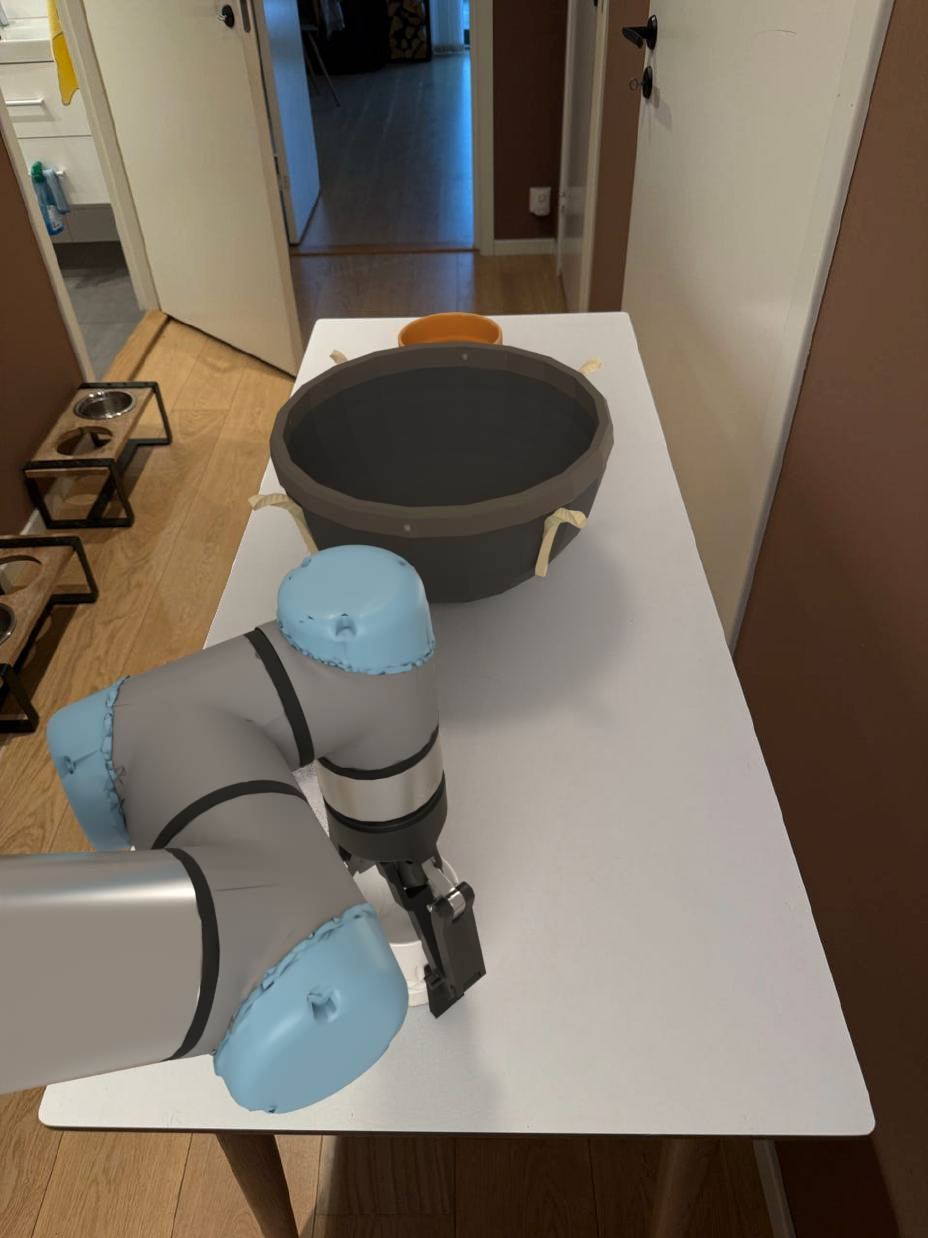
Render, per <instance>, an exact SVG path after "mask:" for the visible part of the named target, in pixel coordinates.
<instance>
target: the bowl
mask: <svg viewBox="0 0 928 1238" xmlns="http://www.w3.org/2000/svg"><path fill="white" fill-rule="evenodd" d="M329 358H330V359H332V360H333V362H334V363H335V365H333V366H331V367H330V368H328V369H326V370H324V371H323V372H321V373H320V374H318V375H316V376H315V377H313V378H312V379H310V380H308V381H306V382H305V383H303V384H301V385H300V386H299V387H298V389H297V390H296V391H295V392H294V393H293V394H292V395H291V397H289V398H288V400H286V401H285V403H284V404H283V405H282V406H281V407H280V408H279V410H277V413H276V415H275V419H274V423H273V425H272V429H271V433H270V437H269V441H268V442H269V455H270V460H271V463H272V466H273V469H274V472H275V475H276V478H277V481H278V484H279V486H280V487H281V488H283V489H284V492H285V493H281V492H273V493H270V494H254V495H252V496H249V498H248V499H247V503H248V505H249V507H251V509H252V510H253V511H254V512H256V511H258V510H261V509H262V508H264V507H267V506H270V507H275V508H276V507H277V508H280V509H284V510H286V511H288V512H289V514H290V516H291V517H292V519H293V521H294V523H295V525H296V526H297V529H298V531H299V533H300V535H301V537H302V539H303V542H304V543H305V546H306V548H307V550H308V552H309V555H312V554H314V553H316V552H319V551H322V550H325V549H328V548H332V547H337V546H343V545H368V546H374V547H378V548H382V549H385V550H388V551H391V552H393V553H395V554H396V555H398V556H400V557H402V558H403V559H404V560H406V561H407V562H408V563H409V564H410V565H411V566H413V567H414V568H415V570H416V572H417V573H418V575H419V576H420V578H421V580H422V583H423V586H424V590H425V595H426V599H427V602H428V605H430V604H432V605H433V604H435V605H436V604H460V603H461V604H462V603H469V602H473V601H477V600H481V599H485V598H490V597H494V596H497V595H501V594H503V593H505V592H508V591H510V590H511V589H513V588H515V587H516V586H519V585H521V584H522V583H524V582H526V581H528V580H531V579H532V578H534V577H535V576H539V577H543V578H545V576H546V574H547V572H548V566H549V565H550V564H551V563H552V562H553V561H554V560H555V559H556V558H557V557H558V556H559V555H560V554H561V553H562V552H563V551H564V550H565V549H566V548H567V547H568V546H569V545H570V544H571V542H572V541H573V540H574V539H575V538H576V537H577V536H578V535H579V533H580V532H581V530H582V528H584V526H586V525H587V524H588V522H589V520H588V518H589V516H590V513H591V511H592V508H593V505H594V502H595V500H596V498H597V494H598V492H599V489H600V487H601V483H602V482H603V478H604V475H605V473H606V469H607V465H608V461H609V459H610V455H611V454H612V451H613V448H614V445H615V434H614V424H613V420H612V416H611V413H610V408H609V404H608V400H607V398H606V397H605V396H604V395H603V394H602V393H601V392H600V391H599V390H598V389H597V387H596V386H595V385H594V384H593V383H592V381H590V380H589V379H588V378H587V377H586V376H587V375H589V374H591V373H592V372H594V371H598V370H599V369H600V368H601V367H602V366H603V363H602V361H601V359H600V357H592V358H591V359H589V360H587V361H586V362H585V363H584V364H583V365H582V366H581V367H580V368H579V369H578V370H576V369H574V368H573V367H571V366H569V365H568V364H565V363H564V362H561V361H559V360H557V359H555V358H554V357H551V356H550V355H545V354H542V353H538V352H535V351H532V350H528V349H523V348H520V347H516V346H512V345H506V344H503V345H498V344H488V343H478V342H468V341H460V342H437V343H418V344H413V345H407V346H402V347H399V346H396V347H391V348H386V349H381V350H375V351H372V352H369V353H366V354H364V355H360V356H358V357H355V358H352V359H349V360H348V358H347V357H346V356H345V354H344V353H342V352H341V351H340V350H338V349H333V351H332V352H331V354H330V355H329Z"/></svg>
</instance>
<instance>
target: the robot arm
mask: <svg viewBox="0 0 928 1238" xmlns="http://www.w3.org/2000/svg"><path fill="white" fill-rule="evenodd" d="M276 597H277V598H276V602H277V603H276V604H277V608H276V609H275V613H276V618H275V619H273V620H270V621H268V622H264V623H261V624H259V625H257V626H255V627H254V629H253V630H249V631H248V632H245V633H242V634H239V635H237V636H234V637H231V638H229V639H226V640H224V641H221V642H219V643H216V644H214V645H211V646H209V647H206V648H202V649H200V650H198V651H195V652H192V653H190V654H188V655H185V656H183V657H180V658H177V659H174V660H172V661H169V662H167V663H164V664H161V665H159V666H156V667H153V668H151V669H147V670H146V671H144V672H140V673H138V674H135V675H132V676H131V675H125V676H121V677H119V678H118V679H117V680H116V682H114V683H113V684H110V685H109V686H105V687H103V688H102V689H100V690H98V691H95V692H92V693H90V694H88V695H85V696H83V698H81V699H79V700H77V701H76V700H75V701H74V702H72V703H70V704H67V705H65V706H63V707H61V708H60V709H58V710H57V711H55V712H54V713H53V715H52V716H51V717H50V718H49V720H48V723H47V726H46V732H45V736H46V743H47V747H48V750H49V754H50V756H51V757H50V758H51V760H52V763H53V765H54V766H53V767H54V768H55V770H56V772H57V775H58V777H59V779H60V783H61V786H62V789H63V791H64V795H65V796H66V799H67V801H68V803H69V806H70V808H71V810H72V812H73V814H74V816H75V819H76V820H77V823H78V824H79V826H80V829H81V831H82V832H83V835H84V836H85V837H86V839H87V841H88V843H89V844H90V846H91V847H93V849H95V850H96V851H72V852H71V851H69V852H41V853H39V852H38V853H36V852H35V853H11V854H10V853H9V854H8V853H7V854H0V1096H1V1095H6V1094H11V1093H16V1092H22V1091H27V1090H31V1089H36V1088H42V1087H46V1086H51V1085H56V1084H61V1083H67V1082H71V1081H76V1080H80V1079H86V1078H90V1077H96V1076H100V1075H105V1074H111V1073H115V1072H120V1071H126V1070H130V1069H135V1068H140V1067H141V1068H142V1067H145V1066H150V1065H155V1064H159V1063H164V1062H169V1061H177V1060H184V1059H190V1058H195V1057H201V1056H205V1055H209V1056H212V1066H213V1070H214V1075H215V1076H216V1077H221V1078H222V1080H223V1082H224V1084H225V1086H226V1089H227V1090H228V1093H229V1095H230V1097H231V1099H233V1101H234V1102H235V1104H236V1105H238V1106H240V1107H241V1108H243V1109H246V1110H248V1111H249V1112H256V1111H257V1112H258V1111H263V1112H264V1113H265V1114H271V1115H272V1114H274V1115H276V1114H277V1115H281V1114H287V1113H291V1112H295V1111H299V1110H302V1109H305V1108H307V1107H310V1106H313V1105H315V1104H317V1103H319V1102H321V1101H323V1100H326V1099H327V1098H329V1097H331V1096H333V1095H334V1094H336V1093H338V1092H340V1091H341V1090H343V1089H344V1088H346V1087H348V1086H349V1085H350V1084H352V1083H353V1082H354V1081H356V1080H358V1079H359V1078H360V1077H361V1076H362V1075H364V1074H365V1073H366V1072H367V1071H368V1070H369V1069H371V1068H372V1067H373V1066H374V1065H375V1064H376V1063H377V1062H378V1061H379V1060H380V1059H381V1057H383V1055H384V1054H385V1053H386V1052H387V1051H388V1050H389V1048H390V1045H391V1043H392V1041H393V1039H394V1038H395V1037H396V1036H397V1034H398V1033H399V1032H400V1031H401V1029H402V1027H403V1025H404V1023H405V1020H406V1017H407V1013H408V1010H409V1006H408V1003H409V993H408V985H407V982H406V979H405V977H404V975H403V972H402V970H401V968H400V966H399V964H398V962H397V959H396V957H395V955H394V953H393V951H392V949H391V946H390V944H389V942H388V940H387V938H386V936H385V933H384V931H383V929H382V927H381V925H380V923H379V920H378V915H377V913H376V911H375V910H374V908H373V907H372V906H371V904H368V903H367V901H366V899H365V898H364V896H363V894H362V892H361V891H360V889H359V887H358V886H357V884H356V882H355V881H354V879H353V876H354V874H355V873H356V871H358V872H359V874H361V873H363V872H365V871H367V870H368V869H370V868H371V867H373V866H374V865H376V867H377V869H378V872H379V874H380V875H381V876H382V877H383V878H385V879H386V881H387V884H388V886H389V888H390V891H391V893H392V896H393V898H394V900H395V902H396V903H397V904H398V905H400V906H401V907H402V908H403V909H405V910H406V911H407V912H408V915H409V917H410V920H411V922H412V925H413V927H414V929H415V932H416V934H417V937H418V939H419V940H420V941H421V944H422V949H423V951H424V954H425V956H426V958H427V961H428V963H429V964H428V965H426V966H425V967H424V974H425V977H424V978H423V979H424V981H425V982H426V988H427V994H428V1001H429V1002H428V1007H429V1012H430V1013H431V1015H433V1017H434V1018H435V1019H439V1017H441V1016H442V1015H443V1014H444V1013H446V1011H448V1010H449V1009H450V1008H452V1007H453V1006H454V1005H455V1004H456V1003H457V1002H458V1001H459V1000H461V999H462V998H463V997H464V996H465V993H466V992H467V991H468V990H469V989H470V988H471V987H473V986H474V985H475V984H476V983H477V982H478V981H480V980H481V979H482V978H483V977H485V975H487V970H486V964H485V961H484V955H483V950H482V946H481V941H480V936H479V932H478V931H479V930H478V927H477V923H476V918H475V913H474V909H473V908H474V903H475V898H476V893H475V891H474V889H473V887H472V886H471V885H470V884H469V883H468V882H466V881H464V880H463V881H461V882H460V883H459V882H458V883H459V884H458V883H455V884H454V885H452V884H451V883H450V881H449V880H448V879H447V878H446V877H445V876H444V873H443V870H442V867H443V863H442V859H441V857H442V856H441V854H440V852H439V850H438V844H437V843H438V840H439V837H440V835H441V833H442V831H443V829H444V826H445V823H446V820H447V816H448V805H449V804H448V795H447V783H446V773H445V769H444V760H443V752H442V751H443V750H442V742H441V733H440V716H439V706H438V704H439V703H438V694H437V693H438V692H437V682H436V681H437V680H436V679H437V678H436V667H435V666H436V665H435V651H436V635H435V631H434V628H433V624H432V618H431V612H430V607H429V606H430V604H428V602H427V599H426V595H425V590H424V586H423V583H422V580H421V578H420V576H419V575H418V573H417V572H416V570H415V568H414V567H413V566H411V565H410V564H409V563H408V562H407V561H406V560H404V559H403V558H402V557H400V556H398V555H396V554H395V553H393V552H391V551H388V550H385V549H382V548H378V547H374V546H368V545H343V546H337V547H332V548H328V549H325V550H322V551H319V552H316V553H314V554H312V555H311V554H309V555H308V556H307V557H305V558H304V559H303V560H302V562H301V564H300V565H299V566H298V567H297V568H294V569H291V570H289V571H288V572H287V574H285V576H284V577H283V579H282V580H281V583H280V585H279V588H278V591H277V596H276ZM310 764H313V767H314V770H315V775H316V780H317V784H318V787H319V791H320V793H321V796H322V800H323V806H324V809H325V813H326V819H327V820H326V822H327V828H328V829H327V830H328V833H327V832H326V830H325V828H324V827H323V825H322V823H321V822H320V819H319V818H318V817H317V816H318V815H316V813H315V811H314V809H313V807H312V806H311V804H310V802H309V800H308V798H307V796H306V795H305V793H304V791H303V789H302V788H301V785H300V784H299V782H298V781H297V779H296V777H295V775H294V774H293V773H295V772H296V771H298V770H300V769H302V768H304V767H306V766H308V765H310ZM132 847H133V848H134V850H125V849H129V848H132ZM404 888H406V889H404Z"/></svg>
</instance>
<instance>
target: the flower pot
mask: <svg viewBox="0 0 928 1238" xmlns="http://www.w3.org/2000/svg"><path fill="white" fill-rule="evenodd" d="M503 339H504V338H503V329H502V327H501V326H500V325H499V324H498V323H497V322H495V321H494V320H493V319H492V318H489V317H488V316H487V317H486V316H484V315H480V314H478V313H477V314H476V313H471V312H461V311H460V312H457V311H456V312H455V311H452V312H451V311H450V312H439V313H435V314H430V315H425V316H423V317H420V318H417V319H415V320H413V321H411V322H409V323H408V324H406V325H404V326H403V327H402V329H400V331H399V333H398V335H397V344H398V346H397V347H402V346H407V345H413V344H418V343H437V342H460V341H468V342H478V343H488V344H498V345H504V344H503Z"/></svg>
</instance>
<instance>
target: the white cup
mask: <svg viewBox="0 0 928 1238" xmlns="http://www.w3.org/2000/svg"><path fill="white" fill-rule="evenodd" d="M441 859H442V863H443V867H442V870H443V873H444V876H445V877H446V878H447V879H448V880H449V881H450V883H451V884H452V885H454V884H455V883H458V884H460V883H459V880H458V876H457V874H456V872H455V870H454V868H453V867H452V866H451V864H450V863H449V862H448V861H447V860H446V858H444V857H443V856H441ZM353 879H354V881H355V882H356V884H357V886H358V887H359V889H360V891H361V892H362V894H363V896H364V898H365V899H366V901H367V903H368V904H371V906H372V907H373V908H374V910H375V911H376V913H377V915H378V920H379V923H380V925H381V927H382V929H383V931H384V933H385V936H386V938H387V940H388V942H389V944H390V946H391V949H392V951H393V953H394V955H395V957H396V959H397V962H398V964H399V966H400V968H401V970H402V972H403V975H404V977H405V979H406V982H407V985H408V993H409V1003H408V1007H417V1006H421V1005H424V1004H429V1001H428V994H427V988H426V982H425V981H424V979H423V978H424V977H425V974H424V967H425V966H426V965H428V964H429V963H428V961H427V958H426V956H425V954H424V951H423V949H422V944H421V941H420V940H419V939H418V937H417V934H416V932H415V929H414V927H413V925H412V922H411V920H410V917H409V915H408V912H407V911H406V910H405V909H403V908H402V907H401V906H400V905H398V904H397V903H396V902H395V900H394V898H393V896H392V893H391V891H390V888H389V886H388V884H387V881H386V879H385V878H383V877H382V876H381V875H380V874H379V872H378V869H377V867H376V865H374V866H373V867H371V868H370V869H368V870H367V871H365V872H363V873H361V874H359V872H358V871H356V873H355V874H354V876H353ZM404 889H406V888H404Z"/></svg>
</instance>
